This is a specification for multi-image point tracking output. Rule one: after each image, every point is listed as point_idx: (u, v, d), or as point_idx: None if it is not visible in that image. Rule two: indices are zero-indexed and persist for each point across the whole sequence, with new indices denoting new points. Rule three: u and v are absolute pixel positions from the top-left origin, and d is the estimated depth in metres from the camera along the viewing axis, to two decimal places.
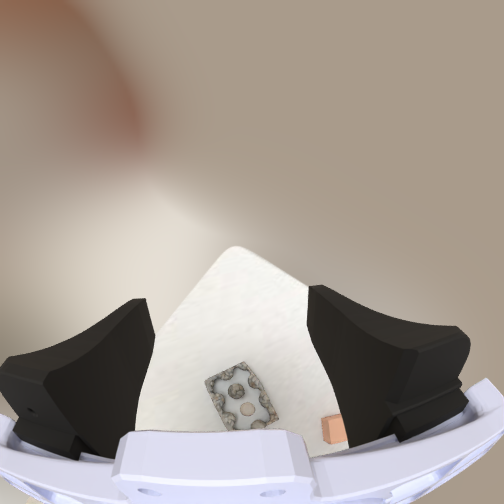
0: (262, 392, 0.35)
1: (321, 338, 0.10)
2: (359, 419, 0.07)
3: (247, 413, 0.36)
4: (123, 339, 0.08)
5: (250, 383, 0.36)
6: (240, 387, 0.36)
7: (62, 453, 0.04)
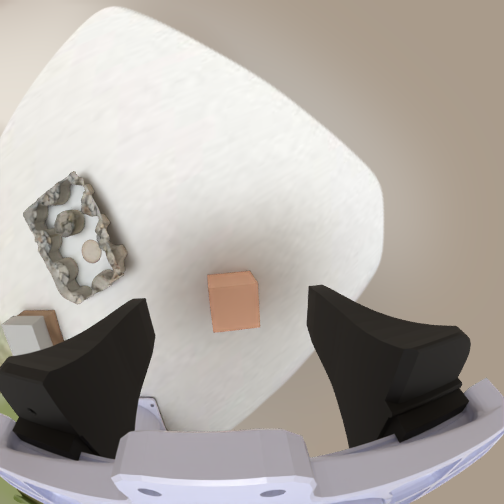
0: (98, 224, 0.20)
1: (321, 338, 0.10)
2: (359, 419, 0.07)
3: (92, 259, 0.23)
4: (123, 339, 0.08)
5: (82, 208, 0.20)
6: (69, 216, 0.20)
7: (62, 453, 0.04)
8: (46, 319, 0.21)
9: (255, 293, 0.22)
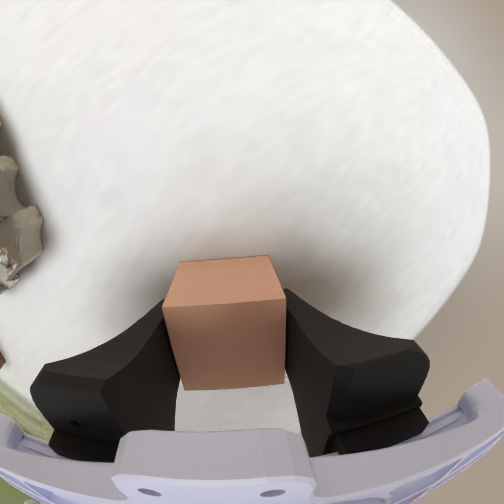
0: None
1: None
2: (310, 431, 0.06)
3: None
4: (163, 339, 0.08)
5: None
6: None
7: (62, 453, 0.04)
8: None
9: (278, 321, 0.09)
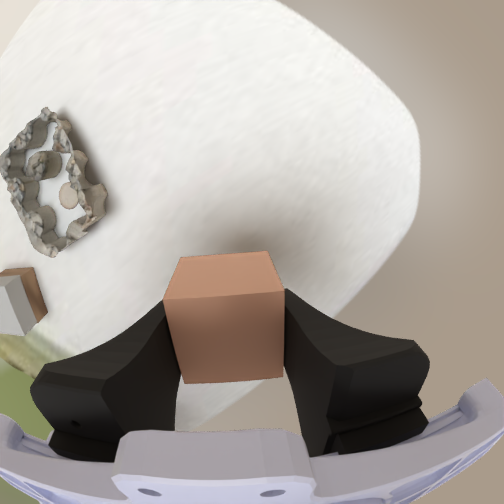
0: (70, 160, 0.15)
1: None
2: (310, 431, 0.06)
3: (69, 204, 0.18)
4: (163, 339, 0.08)
5: (54, 145, 0.15)
6: (41, 157, 0.15)
7: (62, 453, 0.04)
8: (22, 277, 0.18)
9: (277, 313, 0.09)
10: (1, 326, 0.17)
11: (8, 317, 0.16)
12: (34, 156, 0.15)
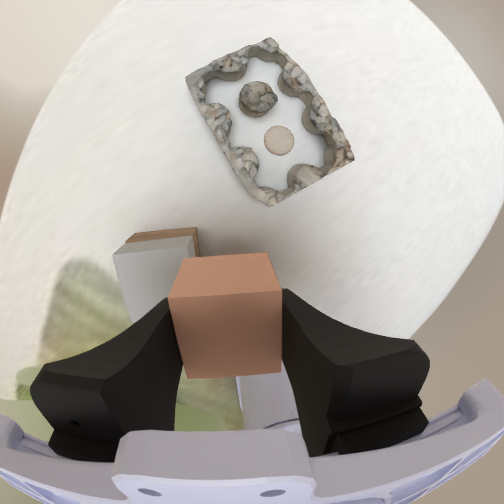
0: (316, 99, 0.15)
1: (283, 343, 0.10)
2: (310, 431, 0.06)
3: (280, 149, 0.19)
4: (163, 339, 0.08)
5: (288, 79, 0.15)
6: (267, 87, 0.15)
7: (62, 453, 0.04)
8: None
9: (275, 311, 0.10)
10: (147, 311, 0.17)
11: None
12: (253, 84, 0.15)
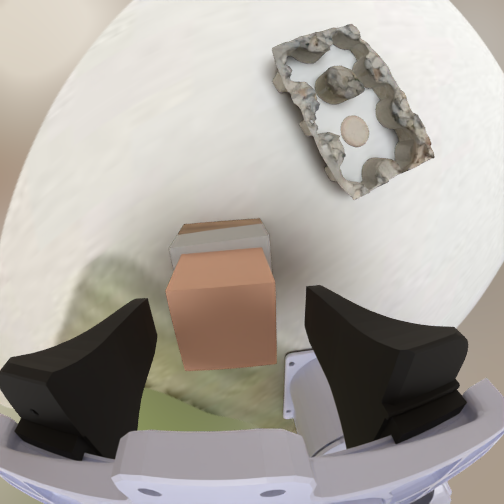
0: (398, 92, 0.13)
1: (319, 338, 0.10)
2: (356, 420, 0.07)
3: (357, 140, 0.17)
4: (126, 339, 0.08)
5: (372, 69, 0.13)
6: (353, 73, 0.13)
7: (62, 453, 0.04)
8: None
9: (269, 303, 0.10)
10: None
11: None
12: (339, 68, 0.13)
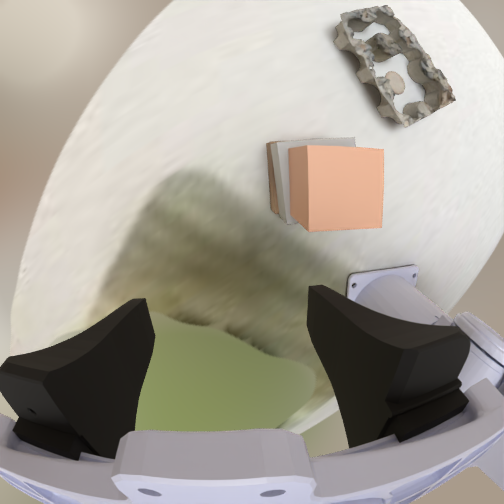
0: (425, 54, 0.14)
1: (321, 338, 0.10)
2: (359, 419, 0.07)
3: (397, 89, 0.18)
4: (123, 339, 0.08)
5: (405, 37, 0.14)
6: (392, 39, 0.14)
7: (62, 453, 0.04)
8: None
9: (380, 166, 0.12)
10: None
11: None
12: (383, 34, 0.14)
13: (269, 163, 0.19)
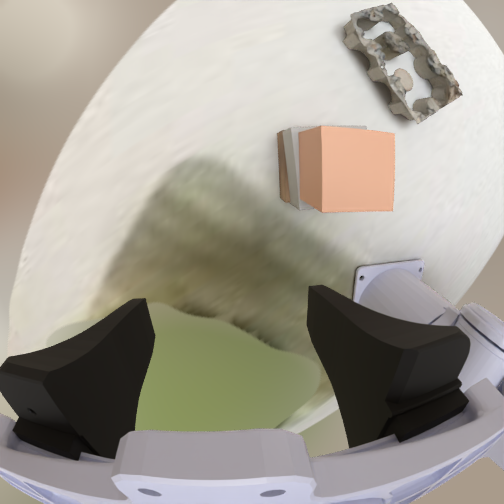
0: (430, 50, 0.14)
1: (321, 338, 0.10)
2: (359, 419, 0.07)
3: (406, 86, 0.18)
4: (123, 339, 0.08)
5: (411, 34, 0.14)
6: (400, 37, 0.14)
7: (62, 453, 0.04)
8: None
9: (391, 149, 0.11)
10: None
11: None
12: (391, 33, 0.14)
13: (280, 152, 0.19)
